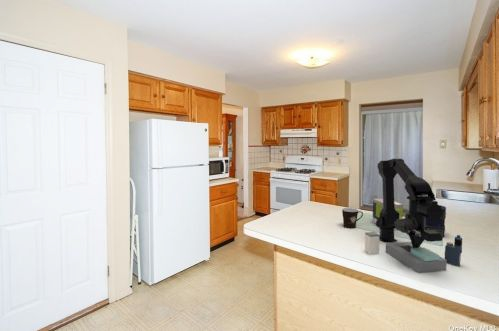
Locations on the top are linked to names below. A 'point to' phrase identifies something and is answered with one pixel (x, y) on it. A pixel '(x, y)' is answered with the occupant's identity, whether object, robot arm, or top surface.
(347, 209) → the coffee mug
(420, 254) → the teal rectangular block
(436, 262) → the socket
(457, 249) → the vaping device
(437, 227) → the storage jar
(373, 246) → the grey tall block
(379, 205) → the tea box
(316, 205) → the top surface
